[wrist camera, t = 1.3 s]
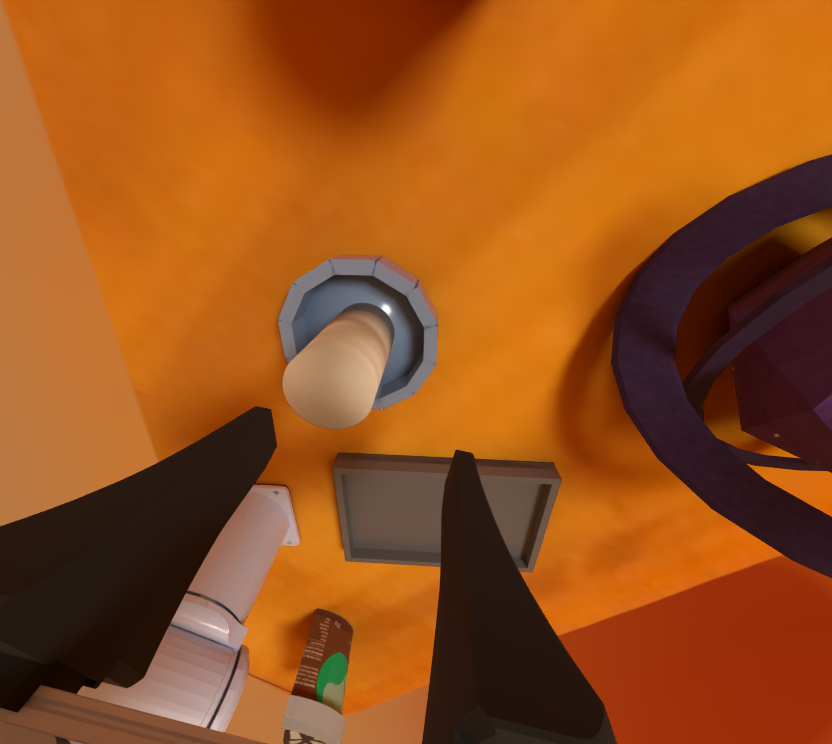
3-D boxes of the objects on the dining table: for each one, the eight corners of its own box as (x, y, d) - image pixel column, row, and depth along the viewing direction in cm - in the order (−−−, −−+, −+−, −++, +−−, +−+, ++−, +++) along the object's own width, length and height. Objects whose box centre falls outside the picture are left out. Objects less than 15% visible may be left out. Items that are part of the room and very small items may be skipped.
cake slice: (355, 657, 42) (334, 774, 33) (311, 649, 42) (278, 766, 33) (368, 611, 37) (348, 736, 28) (318, 601, 36) (280, 726, 27)
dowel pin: (338, 358, 21) (290, 427, 14) (332, 301, 20) (274, 347, 12) (395, 360, 21) (375, 431, 14) (394, 303, 19) (371, 350, 12)
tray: (349, 543, 31) (345, 561, 29) (338, 452, 26) (332, 468, 24) (527, 553, 30) (532, 572, 29) (553, 462, 25) (561, 479, 23)
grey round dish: (307, 388, 23) (294, 405, 21) (285, 253, 19) (265, 257, 17) (433, 393, 23) (433, 411, 20) (440, 257, 18) (441, 261, 16)
